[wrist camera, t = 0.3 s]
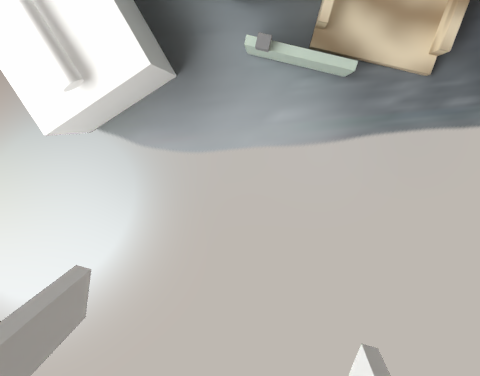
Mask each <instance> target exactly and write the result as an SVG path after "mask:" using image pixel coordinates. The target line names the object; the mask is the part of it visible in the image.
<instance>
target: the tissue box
mask: <svg viewBox="0 0 480 376" xmlns="http://www.w3.org/2000/svg"><path fill="white" fill-rule="evenodd" d="M0 69H1V71H2V72H3V74H4V75H5V77H6V78H7V79H8V81H9V83H10V84H11V86H12V87H13V89H14V90H15V92H16V93H17V95H18V96H19V98H20V99H21V101H22V102H23V104H24V105H25V107H26V108H27V110H28V111H29V113H30V114H31V116H32V117H33V119H34V120H35V122H36V124H37V125H38V126H39V128H40V129H41V131H42V132H43V134H44V135H45V136H49V135H63V134H78V133H91V132H93V131H94V130H96V129H97V128H98V127H100V126H101V125H103V124H104V123H106V122H107V121H109V120H110V119H112V118H113V117H115V116H116V115H118V114H120V113H121V112H123V111H124V110H126V109H127V108H129V107H130V106H132V105H133V104H135V103H136V102H138V101H140V100H141V99H143V98H144V97H146V96H147V95H149V94H150V93H152V92H153V91H155V90H156V89H158V88H159V87H161V86H163V85H164V84H166V83H167V82H169V81H170V80H172V79H173V78H175V77H176V76H177V75H176V74H175V72H174V70H173V68H172V67H171V65H170V63H169V61H168V60H167V58H166V56H165V54H164V53H163V51H162V49H161V47H160V46H159V44H158V42H157V40H156V39H155V37H154V35H153V33H152V32H151V30H150V28H149V26H148V25H147V23H146V21H145V19H144V18H143V16H142V14H141V12H140V11H139V9H138V7H137V5H136V4H135V2H134V0H0Z"/></svg>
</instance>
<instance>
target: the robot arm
mask: <svg viewBox="0 0 480 376" xmlns="http://www.w3.org/2000/svg"><path fill="white" fill-rule="evenodd" d="M90 275H91V269H88V268H84V267H81V266H77V265H76V266H74V267H73V268H72V269H70V270H69V271H68V272H66V273H65V274H64V275H62V276H61V277H60V278H58V279H57V280H56V281H55V282H53V283H52V284H50V285H49V286H48V287H46V288H45V289H44V290H42V291H41V292H40V293H38V294H37V295H36V296H34V297H33V298H32V299H30V300H29V301H28V302H26V303H25V304H24V305H22V306H21V307H20V308H18V309H17V310H16V311H14V312H13V313H12V314H10V315H9V316H8V317H6V318H5V319H4V320H2V321H0V376H30V375H32V374H33V373H34V371H36V369H37V368H38V367H39V366H40V365H41V364H42V363H43V362H44V361H45V360H46V359H47V358H48V357H49V355H50V354H51V353H52V352H53V351H54V350H55V349H56V348H57V347H58V346H59V345H60V344H61V343H62V342H63V341H64V340H65V339H66V337H67V336H68V335H69V334H70V333H71V332H72V331H73V330H74V329H75V328H76V327H77V326H78V325H79V324H80V322H81V321H82V320H83V319H84V318H85V317H86V308H87V299H88V291H89V283H90ZM349 376H390V373H389V371H388V369H387V367H386V365H385V363H384V360H383V358H382V356H381V354H380V352H379V350H378V348H374V347H371V346H367V345H364V344H361V346H360V349H359V351H358V354H357V356H356V359H355V361H354V364H353V366H352V369H351V371H350V373H349Z"/></svg>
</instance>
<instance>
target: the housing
mask: <svg viewBox="0 0 480 376" xmlns="http://www.w3.org/2000/svg"><path fill="white" fill-rule="evenodd" d="M469 1H470V0H322V3H321V7H320V10H319V14H318V17H317V21H316V25H315V28H314V32H313V36H312V39H311V43H310V46H309V48H310V49H314V50H319V51H323V52H327V53H331V54H335V55H340V56H344V57H348V58H352V59H357V60H361V61H365V62H369V63H374V64H378V65H382V66H386V67H391V68H395V69H399V70H403V71H407V72H412V73H416V74H420V75H424V76H427V75H430V74H431V71H432V69H433V66H434V63H435V61H436V58H437V56H439V55H441V54H444V53H447V52H449V51H450V50H451V48H452V45H453V43H454V40H455V37H456V35H457V32H458V30H459V27H460V24H461V22H462V19H463V17H464V14H465V11H466V9H467V6H468V4H469Z"/></svg>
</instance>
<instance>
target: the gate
mask: <svg viewBox="0 0 480 376" xmlns="http://www.w3.org/2000/svg"><path fill="white" fill-rule="evenodd" d="M244 45H245V48H246V51H247V53H248V54H251V55H255V56H259V57H264V58H268V59H272V60H276V61H280V62H284V63H289V64H293V65H297V66H301V67H305V68H310V69H314V70H318V71H322V72H326V73H330V74H335V75H339V76H343V77H345V76H347V75H349V74H351V73H352V72H354V71H355V69H356V66H357V63H358V61H356V60H352V59H348V58H344V57H339V56H335V55H331V54H327V53H323V52H318V51H314V50H310V49H306V48H301V47H297V46H293V45H289V44H284V43H280V42H276V41H272V35H269V34H264V33H260V32H258V36H257V37H255V36H251V35H246V39H245V44H244Z"/></svg>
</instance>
